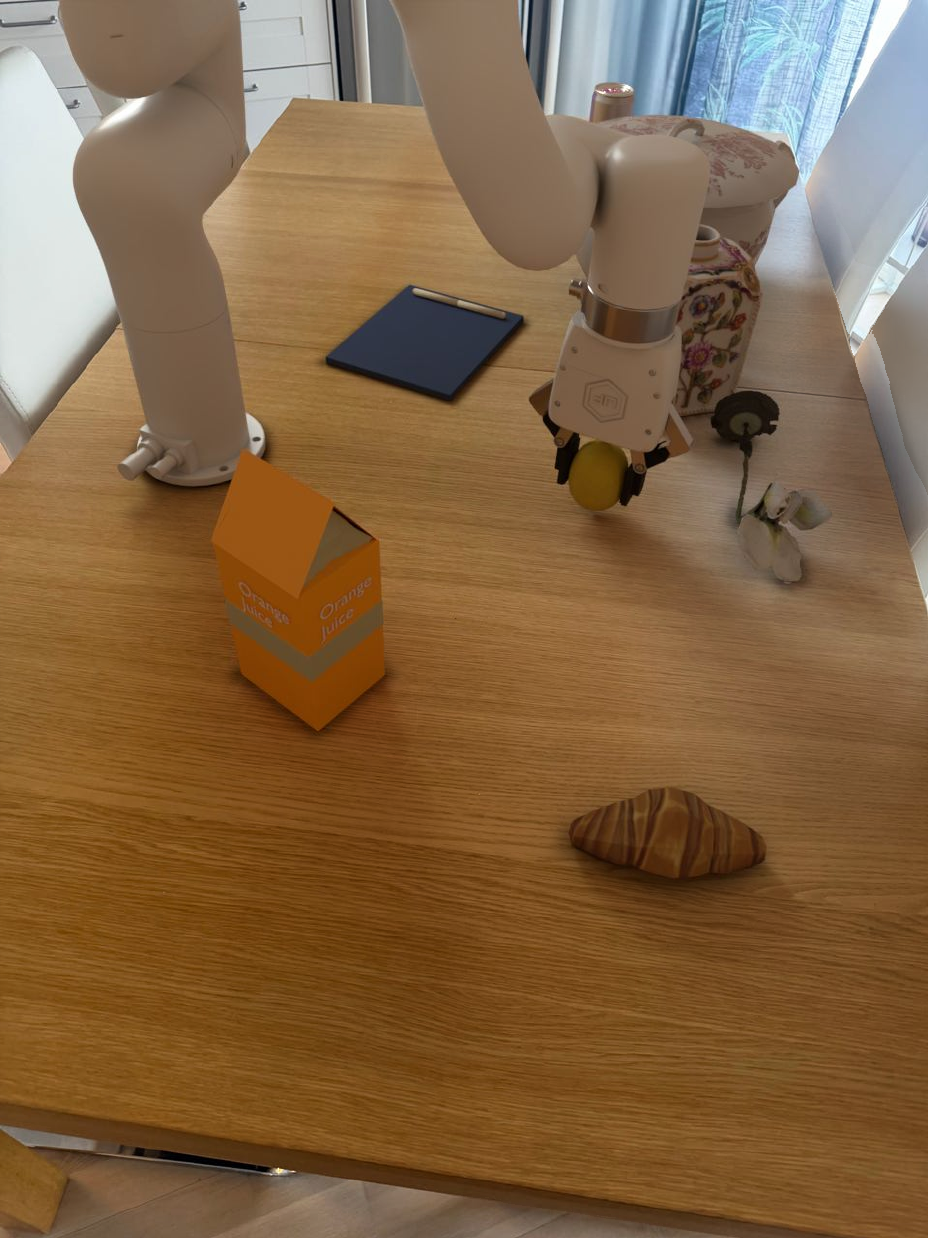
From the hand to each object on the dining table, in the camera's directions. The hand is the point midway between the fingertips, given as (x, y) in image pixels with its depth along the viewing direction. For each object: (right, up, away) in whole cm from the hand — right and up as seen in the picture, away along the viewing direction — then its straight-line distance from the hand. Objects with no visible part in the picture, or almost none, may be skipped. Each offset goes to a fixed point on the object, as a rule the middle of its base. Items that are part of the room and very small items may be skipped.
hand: (596, 485), depth 87 cm
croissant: (+1, -29, -22) cm, 37 cm away
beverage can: (+8, +51, +54) cm, 75 cm away
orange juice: (-25, -17, -13) cm, 33 cm away
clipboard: (-17, +20, +23) cm, 35 cm away
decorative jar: (+10, +13, +18) cm, 24 cm away
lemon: (0, -2, +2) cm, 3 cm away
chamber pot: (+13, +30, +34) cm, 47 cm away
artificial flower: (+16, -2, +4) cm, 17 cm away
